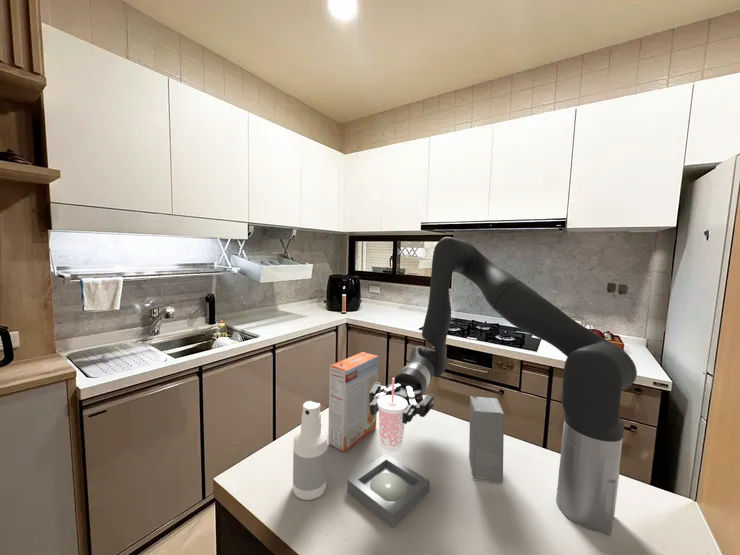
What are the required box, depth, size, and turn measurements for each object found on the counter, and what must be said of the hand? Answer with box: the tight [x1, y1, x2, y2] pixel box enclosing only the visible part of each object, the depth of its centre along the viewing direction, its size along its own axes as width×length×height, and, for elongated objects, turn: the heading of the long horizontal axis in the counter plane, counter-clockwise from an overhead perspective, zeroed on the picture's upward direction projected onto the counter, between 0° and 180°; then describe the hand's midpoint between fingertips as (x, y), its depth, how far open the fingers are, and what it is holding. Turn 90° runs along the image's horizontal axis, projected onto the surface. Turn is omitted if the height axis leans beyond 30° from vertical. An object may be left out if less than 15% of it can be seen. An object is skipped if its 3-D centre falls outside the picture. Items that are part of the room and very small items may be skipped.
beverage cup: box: [378, 377, 408, 452], centre depth 63 cm, size 6×6×14 cm
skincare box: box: [468, 395, 505, 484], centre depth 72 cm, size 8×7×16 cm
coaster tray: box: [346, 453, 431, 529], centre depth 64 cm, size 12×12×2 cm
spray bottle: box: [292, 400, 328, 501], centre depth 64 cm, size 7×7×18 cm
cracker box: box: [327, 351, 379, 453], centre depth 82 cm, size 14×6×21 cm, turn 144°
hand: (388, 414), depth 61 cm, fingers closed on beverage cup, 6 cm apart
